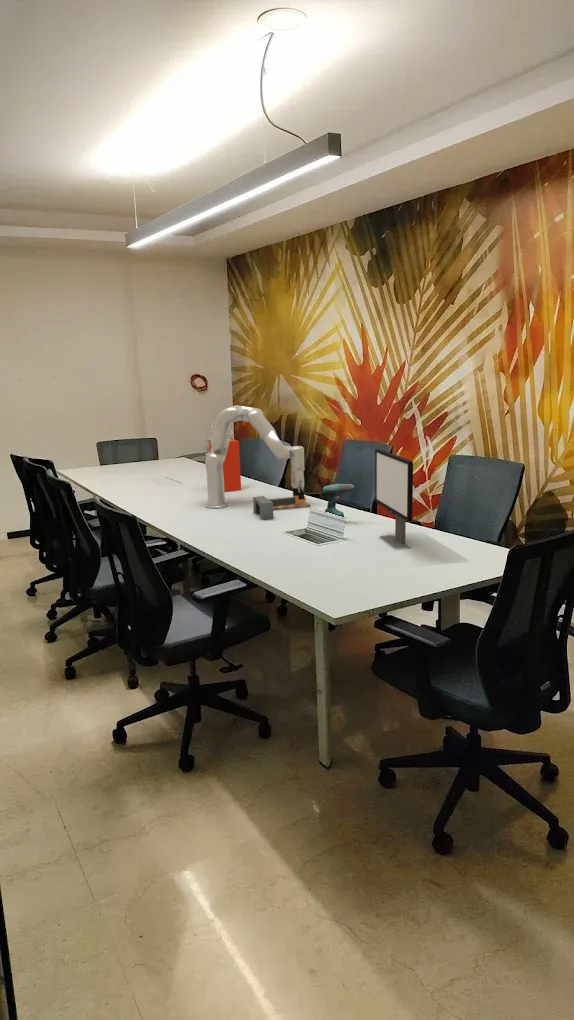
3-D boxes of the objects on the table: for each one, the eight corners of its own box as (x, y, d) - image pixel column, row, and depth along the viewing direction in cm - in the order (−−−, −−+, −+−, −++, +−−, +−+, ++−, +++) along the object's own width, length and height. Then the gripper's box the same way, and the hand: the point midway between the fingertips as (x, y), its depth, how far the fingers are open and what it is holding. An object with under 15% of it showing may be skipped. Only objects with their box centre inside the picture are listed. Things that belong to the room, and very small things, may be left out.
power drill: (352, 524, 328) (352, 485, 324) (321, 522, 334) (320, 484, 329) (355, 521, 335) (355, 482, 330) (325, 519, 340) (324, 481, 336)
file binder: (212, 490, 424) (209, 441, 416) (237, 488, 430) (235, 439, 422) (215, 493, 416) (212, 443, 409) (241, 490, 422) (239, 441, 415)
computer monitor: (370, 532, 313) (370, 449, 304) (387, 530, 315) (387, 448, 306) (402, 556, 274) (403, 462, 265) (421, 554, 276) (423, 460, 267)
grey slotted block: (262, 520, 342) (261, 503, 340) (253, 513, 359) (252, 497, 357) (273, 519, 344) (272, 502, 342) (264, 511, 361) (263, 496, 359)
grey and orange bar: (268, 506, 367) (268, 499, 366) (266, 505, 371) (266, 498, 371) (307, 503, 374) (307, 496, 373) (305, 501, 378) (304, 494, 377)
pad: (266, 511, 362) (266, 509, 362) (259, 506, 375) (259, 504, 375) (310, 506, 370) (310, 504, 370) (302, 502, 383) (302, 500, 383)
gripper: (286, 466, 377) (287, 495, 381) (296, 470, 361) (297, 501, 365) (299, 465, 379) (299, 494, 383) (309, 469, 363) (309, 499, 367)
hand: (298, 497), depth 374 cm, fingers open, 9 cm apart
